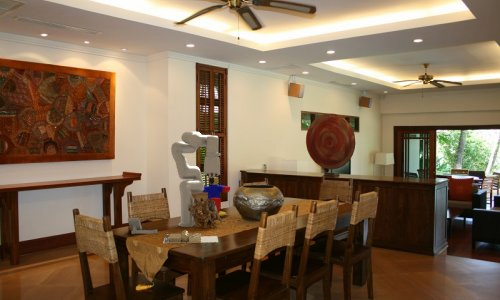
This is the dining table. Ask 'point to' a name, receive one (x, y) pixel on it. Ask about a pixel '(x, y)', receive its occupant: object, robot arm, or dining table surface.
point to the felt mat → (203, 239)
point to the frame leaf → (179, 237)
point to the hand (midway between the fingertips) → (211, 183)
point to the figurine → (216, 194)
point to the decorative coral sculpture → (205, 212)
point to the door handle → (138, 227)
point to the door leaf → (194, 237)
